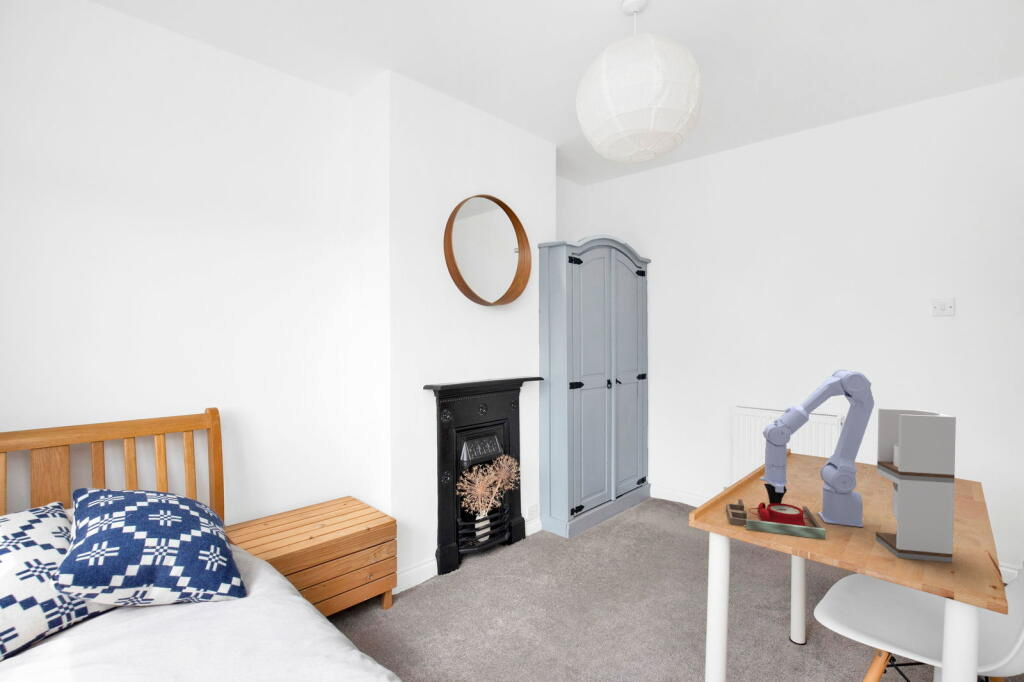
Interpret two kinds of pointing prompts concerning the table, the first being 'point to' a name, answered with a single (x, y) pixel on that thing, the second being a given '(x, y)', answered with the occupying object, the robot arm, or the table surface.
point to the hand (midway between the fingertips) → (774, 509)
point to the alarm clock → (781, 514)
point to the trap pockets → (735, 514)
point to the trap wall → (786, 526)
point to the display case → (918, 481)
